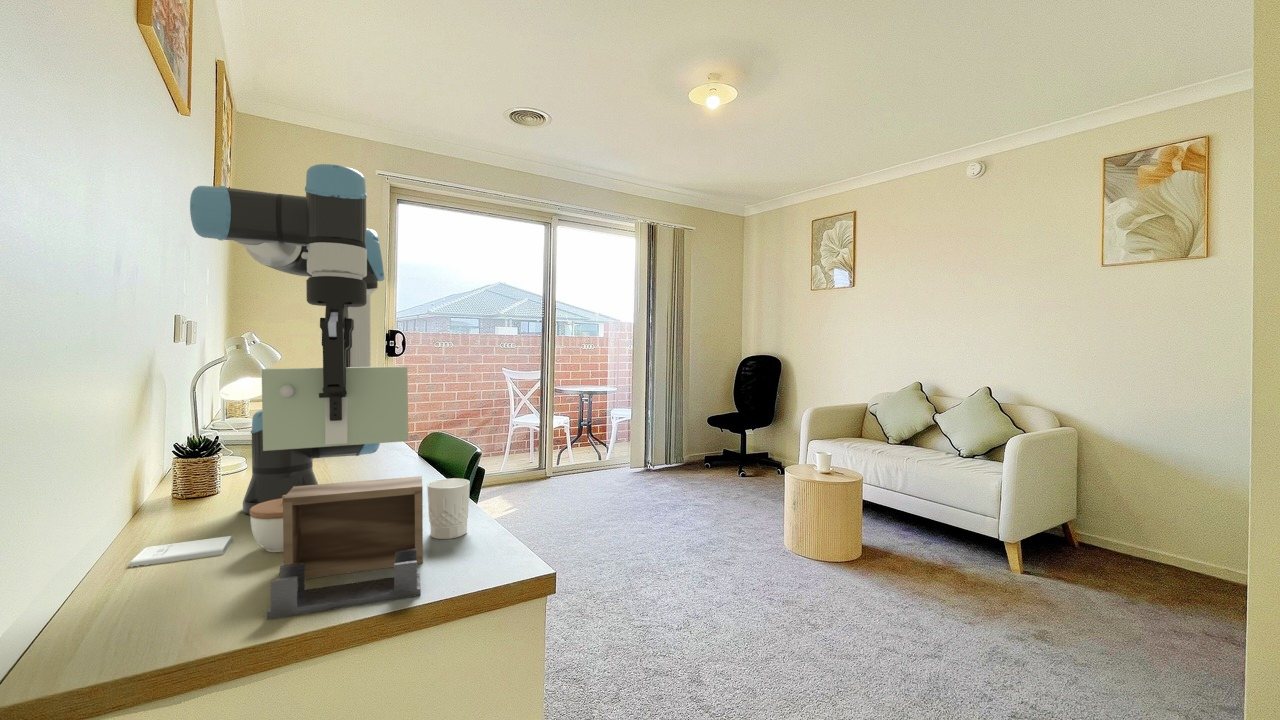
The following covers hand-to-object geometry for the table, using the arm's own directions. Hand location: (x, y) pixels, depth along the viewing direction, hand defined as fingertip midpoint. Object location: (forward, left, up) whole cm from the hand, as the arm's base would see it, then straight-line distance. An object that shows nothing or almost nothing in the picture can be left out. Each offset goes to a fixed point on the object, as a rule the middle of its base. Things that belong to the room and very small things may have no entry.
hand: (338, 441), depth 78 cm
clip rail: (0, +1, -23) cm, 23 cm away
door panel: (0, 0, 0) cm, 1 cm away
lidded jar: (-28, -12, -23) cm, 38 cm away
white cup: (-24, +16, -23) cm, 37 cm away
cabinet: (-14, +1, -23) cm, 27 cm away
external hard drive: (-31, -28, -24) cm, 48 cm away
